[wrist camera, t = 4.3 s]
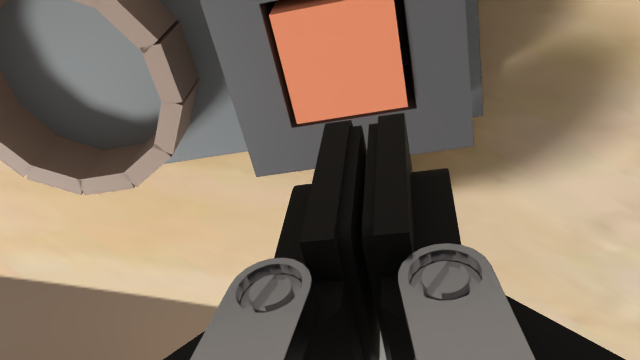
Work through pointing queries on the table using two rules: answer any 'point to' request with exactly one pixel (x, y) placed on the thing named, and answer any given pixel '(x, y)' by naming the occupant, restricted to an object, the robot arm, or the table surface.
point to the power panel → (199, 87)
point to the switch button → (339, 56)
